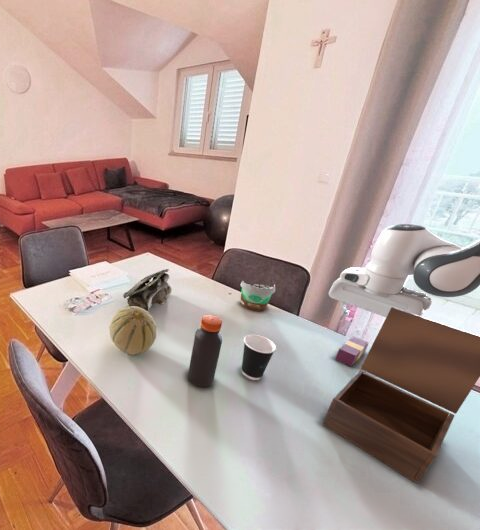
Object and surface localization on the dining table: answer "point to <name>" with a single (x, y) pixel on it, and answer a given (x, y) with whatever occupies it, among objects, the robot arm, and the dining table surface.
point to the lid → (425, 358)
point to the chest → (389, 424)
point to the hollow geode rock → (150, 291)
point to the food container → (255, 296)
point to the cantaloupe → (133, 330)
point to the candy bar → (351, 351)
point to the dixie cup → (256, 355)
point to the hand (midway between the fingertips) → (363, 322)
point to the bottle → (205, 351)
